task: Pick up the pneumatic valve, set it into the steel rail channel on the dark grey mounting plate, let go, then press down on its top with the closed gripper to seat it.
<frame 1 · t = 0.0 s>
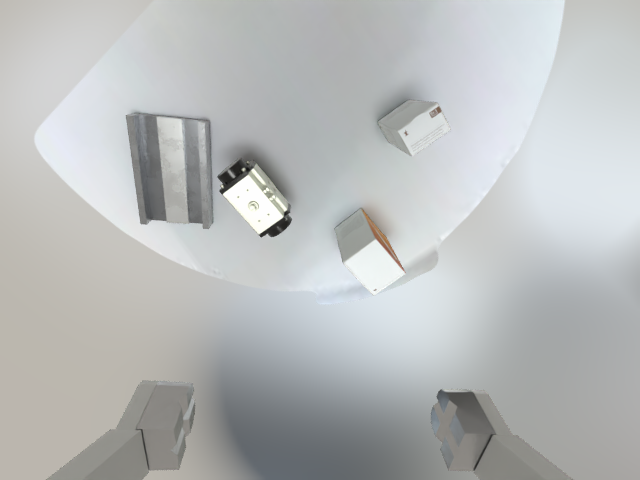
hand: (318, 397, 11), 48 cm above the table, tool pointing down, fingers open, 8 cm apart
skincare box: (398, 120, 54), on the table
small box: (360, 232, 62), on the table
rail plate: (176, 171, 55), on the table
pneumatic valve: (263, 181, 57), on the table
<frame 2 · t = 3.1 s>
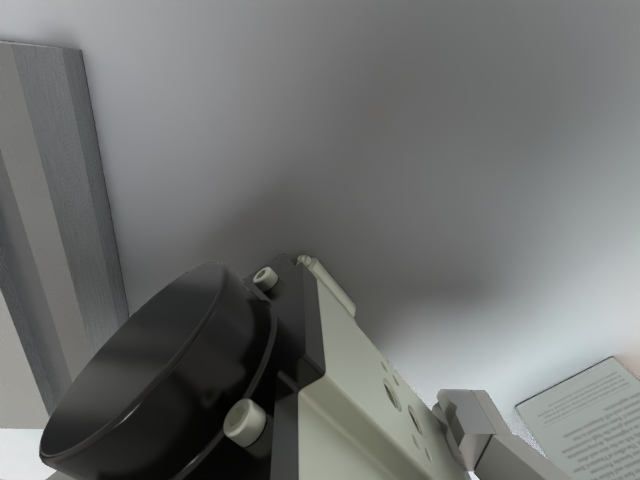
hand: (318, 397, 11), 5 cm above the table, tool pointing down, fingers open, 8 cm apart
small box: (582, 409, 21), on the table
pneumatic valve: (312, 289, 16), on the table, touching gripper
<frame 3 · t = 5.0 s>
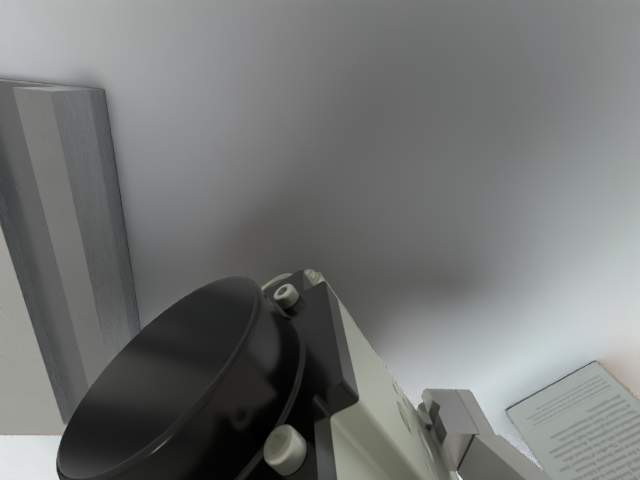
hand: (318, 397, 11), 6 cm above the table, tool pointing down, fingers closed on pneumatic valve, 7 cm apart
small box: (570, 413, 22), on the table
rail plate: (7, 278, 15), on the table
pneumatic valve: (313, 303, 16), point 1 cm above the table, touching gripper
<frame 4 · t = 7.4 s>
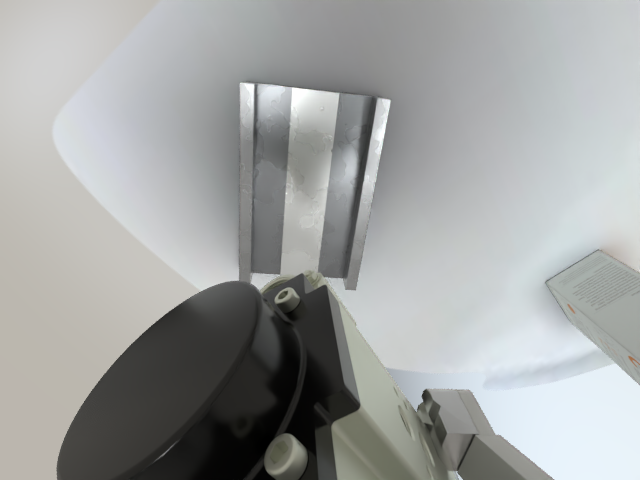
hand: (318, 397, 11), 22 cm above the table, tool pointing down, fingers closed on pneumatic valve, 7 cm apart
small box: (583, 286, 38), on the table
rail plate: (305, 190, 31), on the table
pneumatic valve: (313, 304, 16), point 17 cm above the table, touching gripper
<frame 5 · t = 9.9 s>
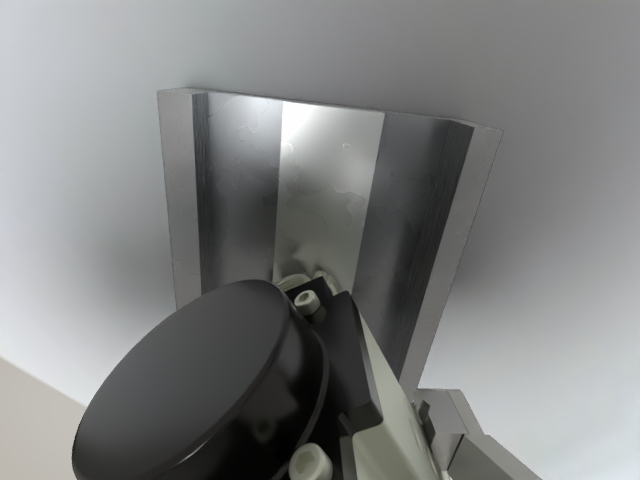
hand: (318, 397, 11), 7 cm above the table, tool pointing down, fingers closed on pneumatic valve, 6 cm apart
rail plate: (309, 284, 17), on the table
pneumatic valve: (321, 305, 16), point 1 cm above the table, touching gripper, rail plate
when the fingers open (6 cm above the table, at t = 10.0 s): pneumatic valve stays where it is, resting on rail plate.
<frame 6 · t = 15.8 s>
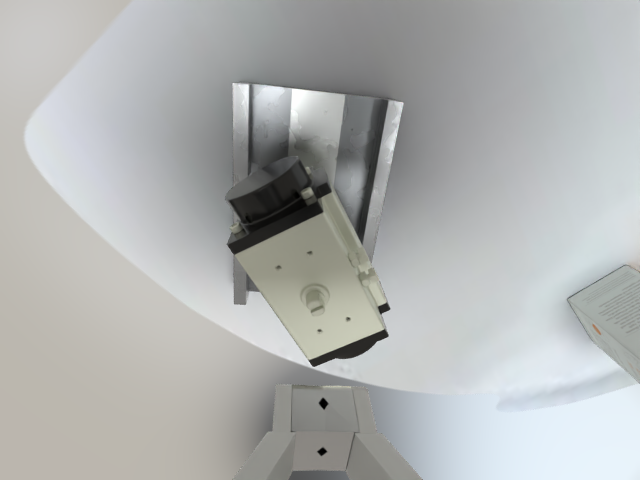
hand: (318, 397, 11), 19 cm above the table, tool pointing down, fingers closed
small box: (607, 303, 35), on the table
rail plate: (307, 202, 28), on the table
pneumatic valve: (313, 210, 27), point 1 cm above the table, touching rail plate
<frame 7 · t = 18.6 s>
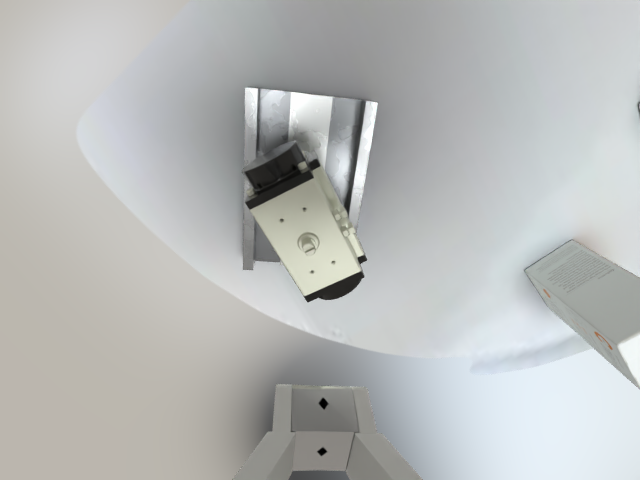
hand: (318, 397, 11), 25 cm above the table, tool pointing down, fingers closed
small box: (559, 274, 41), on the table
rail plate: (303, 185, 34), on the table
pneumatic valve: (308, 191, 33), point 1 cm above the table, touching rail plate
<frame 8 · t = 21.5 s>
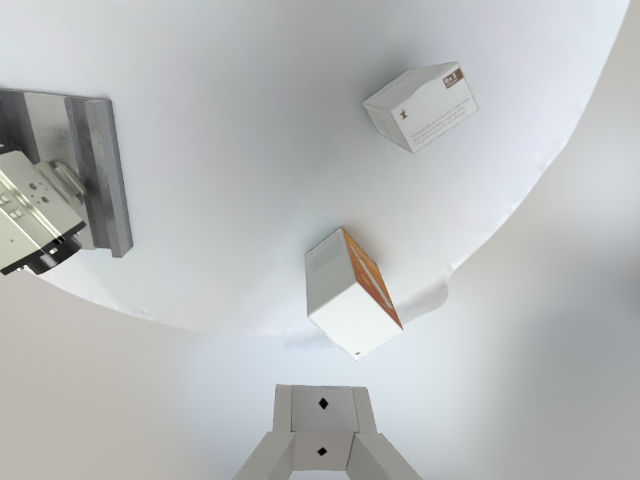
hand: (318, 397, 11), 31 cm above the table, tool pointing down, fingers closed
skincare box: (393, 101, 37), on the table
small box: (341, 259, 45), on the table
rail plate: (71, 175, 38), on the table
pneumatic valve: (69, 181, 37), point 1 cm above the table, touching rail plate
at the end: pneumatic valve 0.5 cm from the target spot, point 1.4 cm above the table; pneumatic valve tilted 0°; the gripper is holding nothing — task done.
